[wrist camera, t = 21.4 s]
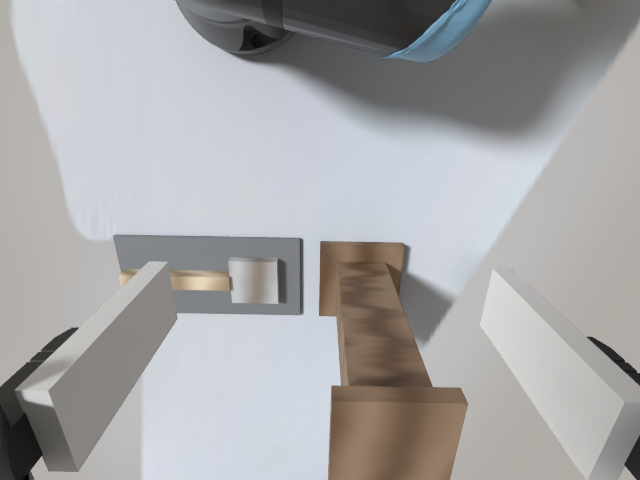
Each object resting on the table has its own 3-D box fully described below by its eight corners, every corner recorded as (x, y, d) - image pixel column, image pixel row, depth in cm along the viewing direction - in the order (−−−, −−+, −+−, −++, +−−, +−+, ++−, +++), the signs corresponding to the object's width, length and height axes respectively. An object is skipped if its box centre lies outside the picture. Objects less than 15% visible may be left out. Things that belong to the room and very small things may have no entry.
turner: (131, 295, 54) (124, 302, 52) (122, 254, 51) (115, 260, 50) (279, 298, 54) (277, 305, 52) (278, 257, 51) (276, 263, 50)
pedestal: (319, 310, 56) (316, 496, 30) (320, 241, 51) (318, 390, 25) (394, 311, 56) (456, 499, 30) (402, 242, 51) (484, 393, 25)
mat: (132, 309, 56) (130, 312, 55) (115, 234, 51) (113, 236, 50) (300, 312, 56) (300, 315, 55) (299, 238, 51) (299, 239, 50)
